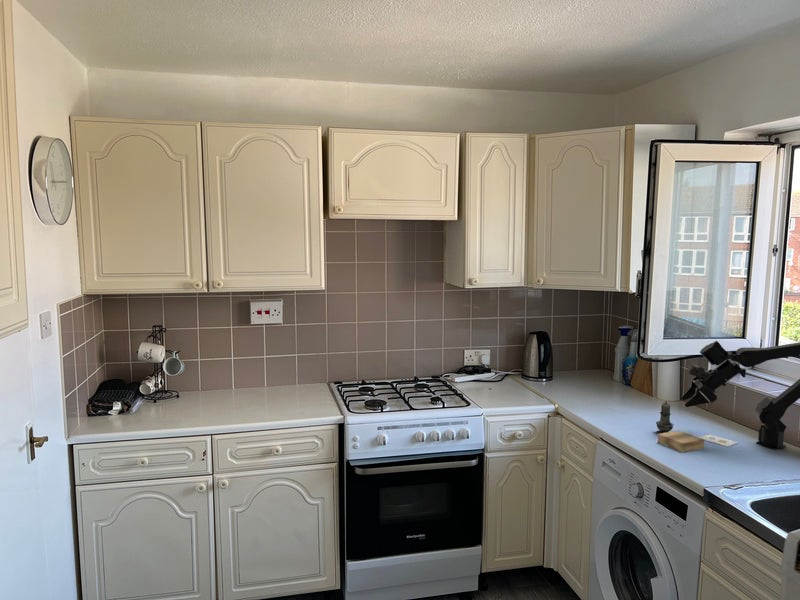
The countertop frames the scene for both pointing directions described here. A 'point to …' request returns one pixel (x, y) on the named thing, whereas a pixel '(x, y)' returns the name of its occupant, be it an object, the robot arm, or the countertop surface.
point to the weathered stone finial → (664, 419)
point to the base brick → (681, 441)
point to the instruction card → (718, 440)
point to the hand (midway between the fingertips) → (683, 402)
